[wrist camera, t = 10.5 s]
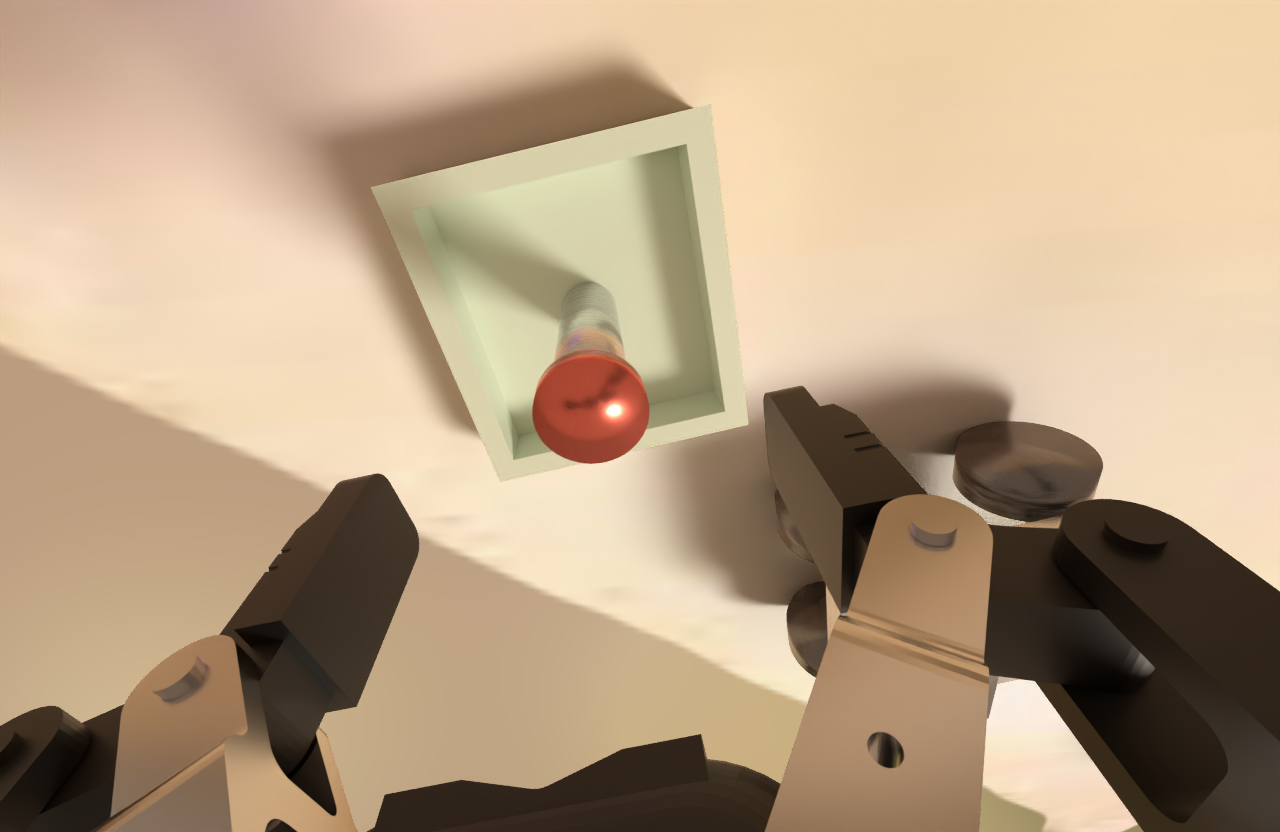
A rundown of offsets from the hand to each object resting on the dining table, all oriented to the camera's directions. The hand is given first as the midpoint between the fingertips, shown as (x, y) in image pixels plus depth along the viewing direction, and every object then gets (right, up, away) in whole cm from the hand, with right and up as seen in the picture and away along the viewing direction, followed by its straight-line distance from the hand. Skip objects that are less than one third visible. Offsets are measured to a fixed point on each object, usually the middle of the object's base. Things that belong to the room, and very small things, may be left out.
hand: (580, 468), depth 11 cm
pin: (-1, +6, +12) cm, 13 cm away
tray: (-1, +6, +12) cm, 14 cm away
